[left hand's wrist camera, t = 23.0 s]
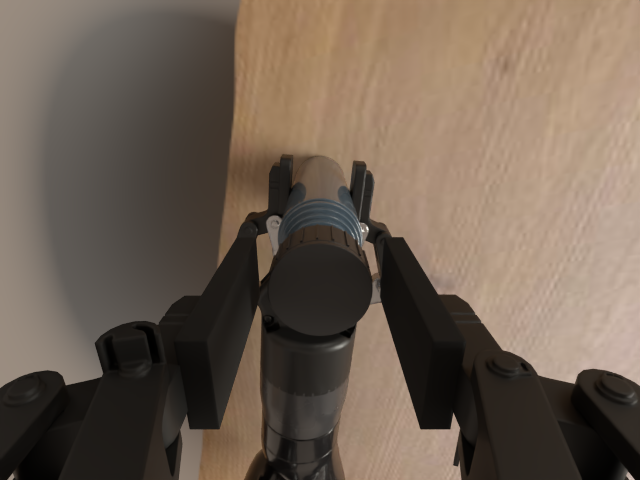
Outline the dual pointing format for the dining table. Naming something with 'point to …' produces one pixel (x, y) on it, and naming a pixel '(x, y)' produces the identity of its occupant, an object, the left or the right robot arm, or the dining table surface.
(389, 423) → the dining table surface
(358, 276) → the cap
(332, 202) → the bottle
